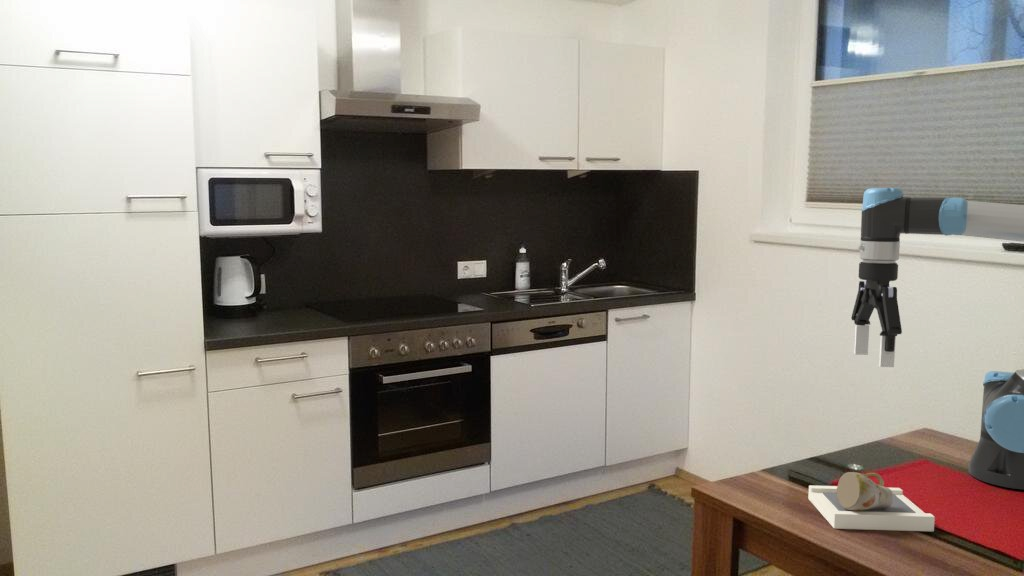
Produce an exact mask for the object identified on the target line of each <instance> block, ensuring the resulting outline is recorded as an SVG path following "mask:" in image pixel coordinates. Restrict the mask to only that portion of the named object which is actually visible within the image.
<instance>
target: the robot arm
mask: <svg viewBox="0 0 1024 576" xmlns="http://www.w3.org/2000/svg"><path fill="white" fill-rule="evenodd" d="M862 198H863V199H862V206H861V207H862V208H861V217H860V218H861V219H860V220H861V221H860V222H861V226H860V244H859V245H858V247H857V249H858V250H859V252H860V253H859V259H860V260H862V261H860V263H858V278H859V280H860V281H859V282H858V290H857V293H856V294H857V295H856V298H855V302H854V305H853V310H852V314H851V321H854V322H853V323H854V325H855V326H854V327H855V329H854V330H855V331H854V348H853V354H854V355H856V356H857V355H861V356H862V355H867V356H868V355H869V338H870V325H871V321H870V318H871V316H872V314H873V312H874V311H875V310H876V311H877V316H878V319H879V324H880V327H881V332H879V336H880V339H879V340H880V341H879V357H878V367H880V368H894V367H895V356H896V355H895V354H896V337H897V336H898V335H902V333H903V330H902V329H903V328H902V323H901V316H900V309H899V304H898V288H897V286H890V282H895V281H897V280H898V277H899V275H898V274H899V264H898V263H897V261H899V259H900V248H901V241H900V240H901V239H900V237H901V234H905V235H907V234H908V235H909V234H910V235H911V234H912V235H937V236H938V235H940V236H941V235H944V236H952V235H954V236H965V237H972V238H973V237H975V238H983V239H986V238H987V239H993V240H994V239H995V240H1002V241H1003V240H1004V241H1014V242H1023V243H1024V204H1014V203H1013V204H1012V203H1002V202H1001V203H1000V202H998V203H997V202H990V201H989V202H987V201H976V200H967V199H966V198H964V197H953V196H948V197H907V196H904V194H903V189H902V188H900V187H870V188H868V189H866V190H864V193H863V197H862ZM874 309H875V310H874ZM983 380H984V381H983V382H982V385H983V395H982V408H981V409H982V410H981V422H980V433H979V434H980V435H979V440H978V443H977V445H976V446H975V449H974V451H973V454H972V455H971V457H970V460H968V473H969V475H971V476H972V477H974V479H977V480H979V481H981V482H984V483H987V484H991V485H993V486H998V487H1002V488H1009V489H1014V490H1015V489H1017V490H1024V368H1023V369H1016V370H1015V371H1014V372H1012V371H1011V372H1010V371H999V370H991V371H988V372H986V373H985V375H984V379H983Z"/></svg>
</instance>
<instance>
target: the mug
mask: <svg viewBox="0 0 1024 576" xmlns="http://www.w3.org/2000/svg"><path fill="white" fill-rule="evenodd" d="M870 477H874V478H876V479H877V480H878V483H876V482H875V481H874V480H872V479H871V478H870ZM884 482H885V481H884V479H883V478H882V476H881V475H880V474H878V473H877V472H867V473H860V472H856V471H847V472H845V473H843V474H842V475H841V477H839V480H838V482H837V483H838V484H837V485H836V486H837V498H838V501H839V502H840V504H841V505H842V506H843V507H844V508H845V509H848V510H852V511H863V510H867V509H871V508H874V507H878V508H884V509H887V508H889V507H890V506H891V505H892V504H893V501H894V495H893V493H892V491H891V490H890V489H889V488H890V487H888V488H887V486H884V485H885V483H884Z"/></svg>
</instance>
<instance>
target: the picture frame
mask: <svg viewBox="0 0 1024 576" xmlns="http://www.w3.org/2000/svg"><path fill="white" fill-rule="evenodd" d="M837 486H838V485H811V484H810V485H808V495H807V496H808V498H807V499H808V500H809V501H810V503H811V504H812V505H813V506H814V507H815V508H816V509H817V510H818V512H820V514H821V515H822V516H823V518H824V519H825V520H827V522H828V523H829V524H830V526H832V528H833V529H838V530H839V529H840V530H842V529H843V530H865V531H867V530H870V531H872V530H874V531H875V530H876V531H904V532H905V531H907V532H909V531H910V532H934V531H935V523H936V522H935V520H936V517H935V516H934V515H933V514H932V513H925V512H924V511H923V510H922V509H921V508H919V506H917V505H916V504H915V503H913V502H912V501H911V500H910V499H909V498H908V497H906V495H904V493H903V492H904V490H903V489H901V488H900V487H887V486H886V487H887V488H889V489H890V490H891V491H892V493H893V495H894V501H893V504H892V505H891V506H890V507H889V508H887V509H884V508H878V507H874V508H871V509H867V510H863V511H852V510H848V509H845V508H844V507H843V506H842V505H841V504H840V502H839V501H838V498H837Z"/></svg>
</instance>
